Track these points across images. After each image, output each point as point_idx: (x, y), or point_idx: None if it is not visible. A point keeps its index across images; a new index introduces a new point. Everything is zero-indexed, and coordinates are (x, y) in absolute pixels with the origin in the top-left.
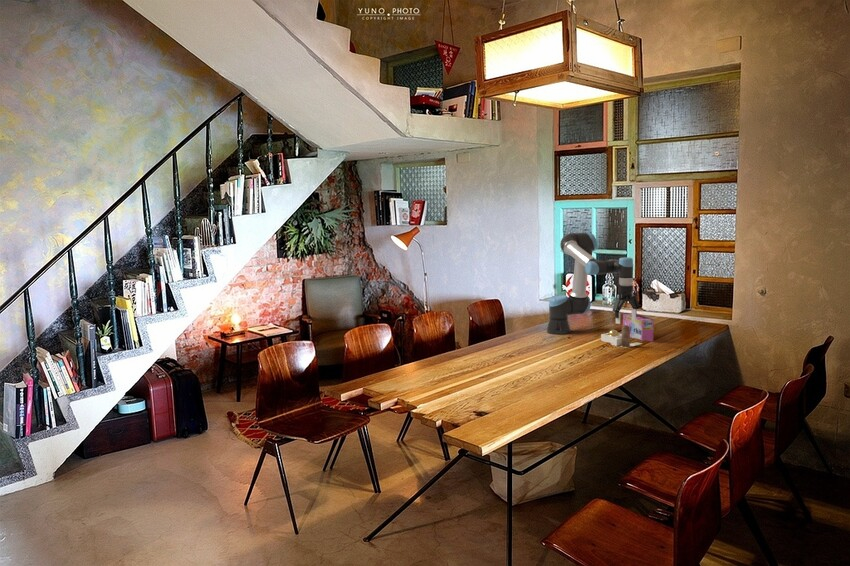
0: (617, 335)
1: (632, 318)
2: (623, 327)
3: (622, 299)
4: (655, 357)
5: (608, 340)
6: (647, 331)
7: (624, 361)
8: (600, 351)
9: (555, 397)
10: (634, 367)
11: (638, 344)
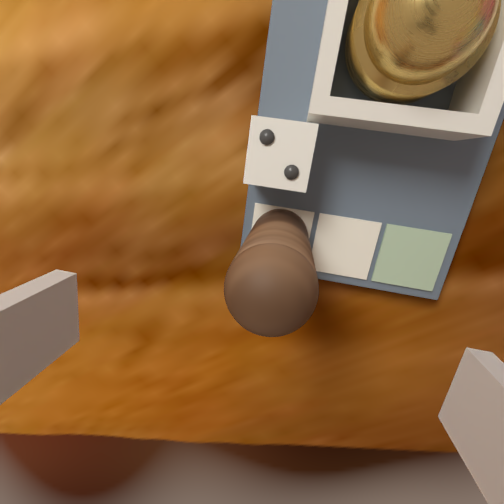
0: (407, 85)
1: (479, 389)
2: (227, 287)
3: None
4: (211, 431)
5: (320, 43)
6: None
7: None
8: (108, 143)
9: None
10: (14, 420)
11: (385, 279)
